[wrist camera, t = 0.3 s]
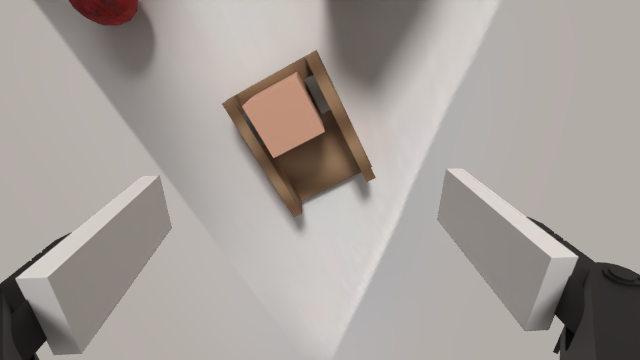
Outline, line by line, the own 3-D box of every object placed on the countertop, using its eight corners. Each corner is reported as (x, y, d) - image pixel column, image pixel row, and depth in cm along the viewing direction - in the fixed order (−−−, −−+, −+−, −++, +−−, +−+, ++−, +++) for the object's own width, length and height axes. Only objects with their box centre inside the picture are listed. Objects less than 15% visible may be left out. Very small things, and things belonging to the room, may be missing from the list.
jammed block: (252, 96, 36) (241, 106, 30) (297, 71, 35) (296, 76, 29) (278, 139, 38) (273, 158, 32) (321, 117, 38) (324, 131, 31)
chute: (228, 98, 37) (219, 105, 33) (316, 50, 36) (317, 50, 32) (292, 201, 43) (291, 218, 39) (370, 164, 42) (377, 176, 37)
